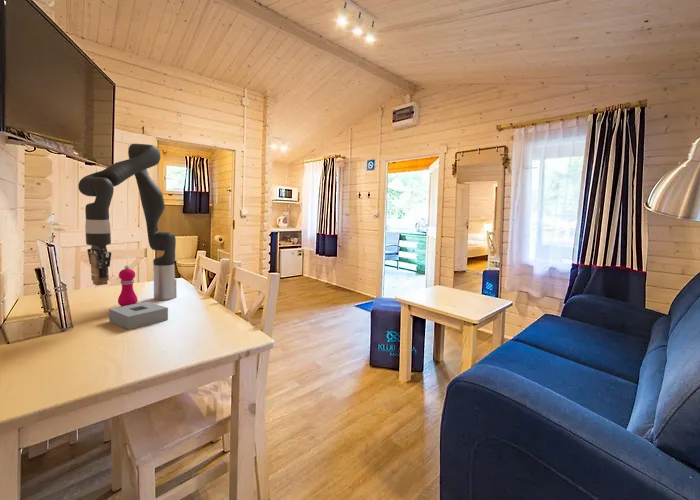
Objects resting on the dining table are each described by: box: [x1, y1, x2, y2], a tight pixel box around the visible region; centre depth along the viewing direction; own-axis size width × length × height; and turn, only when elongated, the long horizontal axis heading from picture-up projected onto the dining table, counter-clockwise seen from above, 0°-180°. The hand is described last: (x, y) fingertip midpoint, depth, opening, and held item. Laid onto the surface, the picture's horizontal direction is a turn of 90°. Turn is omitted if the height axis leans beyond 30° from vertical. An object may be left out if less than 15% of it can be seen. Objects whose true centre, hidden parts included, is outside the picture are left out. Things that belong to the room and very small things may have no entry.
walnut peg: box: [90, 253, 109, 287], centre depth 129 cm, size 4×4×12 cm
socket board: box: [108, 301, 169, 330], centre depth 139 cm, size 15×15×5 cm
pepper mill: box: [117, 265, 138, 307], centre depth 150 cm, size 7×7×20 cm
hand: (100, 276), depth 130 cm, fingers closed on walnut peg, 4 cm apart
